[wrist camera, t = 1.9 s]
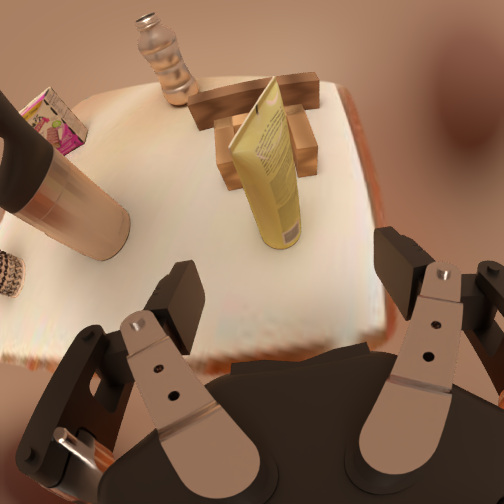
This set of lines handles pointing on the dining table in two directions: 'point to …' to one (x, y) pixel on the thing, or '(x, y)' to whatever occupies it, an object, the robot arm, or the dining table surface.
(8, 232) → the dining table surface
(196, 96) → the wooden plank
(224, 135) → the block
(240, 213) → the dining table surface
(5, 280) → the decorative candle
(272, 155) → the tube
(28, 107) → the candy bar box
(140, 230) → the dining table surface
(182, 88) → the plastic bottle
